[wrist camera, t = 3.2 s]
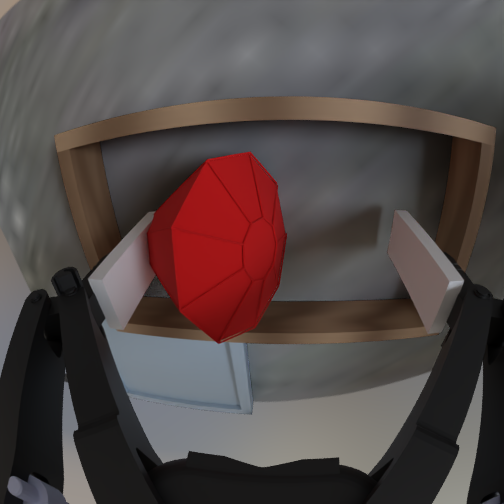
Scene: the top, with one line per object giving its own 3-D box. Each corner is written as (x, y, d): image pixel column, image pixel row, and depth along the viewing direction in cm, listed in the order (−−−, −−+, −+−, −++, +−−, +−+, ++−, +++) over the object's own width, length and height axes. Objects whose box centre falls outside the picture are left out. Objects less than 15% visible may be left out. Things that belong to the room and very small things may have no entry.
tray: (243, 316, 20) (241, 331, 19) (253, 402, 27) (251, 414, 26) (80, 303, 22) (72, 314, 21) (127, 385, 29) (122, 395, 27)
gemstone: (151, 319, 20) (269, 362, 15) (52, 267, 13) (153, 314, 8) (196, 217, 23) (313, 222, 18) (123, 145, 16) (253, 109, 11)
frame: (466, 119, 12) (496, 127, 9) (425, 307, 19) (438, 334, 16) (84, 125, 14) (54, 135, 11) (132, 305, 21) (117, 331, 19)
